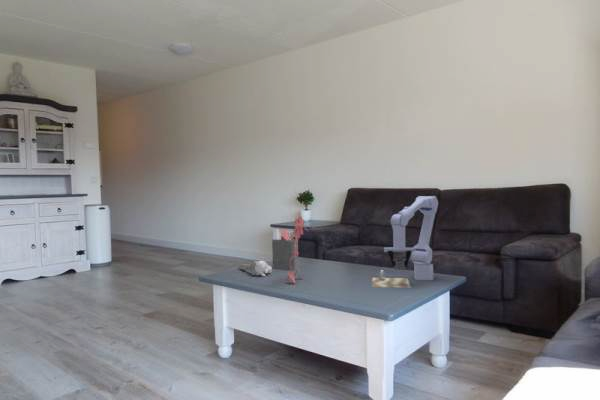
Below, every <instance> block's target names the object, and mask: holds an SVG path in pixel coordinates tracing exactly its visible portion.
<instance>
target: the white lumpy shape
mask: <svg viewBox="0 0 600 400" xmlns="http://www.w3.org/2000/svg"><path fill="white" fill-rule="evenodd" d="M257 262H258V267H256V266H255V270H256V271H257V272H258V273H257V274H256V276H257V275H258V276H260V275H261V277H264V276H265V277H267V275H268V274H269V273H270V274H271V273H272V271H273V266H271V265H269V264H268V263H267V262H266V261H264V260H259V261H257ZM266 274H267V275H266ZM270 274H269V275H270Z"/></svg>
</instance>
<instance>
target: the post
mask: <svg viewBox="0 0 600 400" xmlns="http://www.w3.org/2000/svg"><path fill="white" fill-rule="evenodd" d="M379 278H380V280H381V281H384V280H385V278H386V271H385V270H384V269H380V271H379Z"/></svg>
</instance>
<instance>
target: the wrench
mask: <svg viewBox="0 0 600 400" xmlns="http://www.w3.org/2000/svg"><path fill="white" fill-rule="evenodd" d="M255 266H256V267H258V261H257V260H253V261H252V263H251V264H248V263H247V264H246V263H238V269H239V270H249V271H250V272H251V274H252V276H257V273H258V272H257V271H256V270H255Z"/></svg>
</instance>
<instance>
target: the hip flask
mask: <svg viewBox="0 0 600 400" xmlns="http://www.w3.org/2000/svg"><path fill="white" fill-rule="evenodd" d="M280 238H281V239H278V238H276V239H275V238H274V239H272V240H271V242H272V243H271V244H272V246H271V247H272V249H271V250H272V252H271V253H272V269H274V268H278V270H285V269H286V271H290V267H291V272H292V271H296V256H294V254H293V253H294V251H296V242H295V241H294V240H292V239H288V241H285V239H284V238H283V237H282V235H281V236H280ZM293 256H294V257H293ZM292 257H293V258H292ZM291 258H292V259H291ZM290 259H291V260H290ZM289 260H290V263H289Z"/></svg>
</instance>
